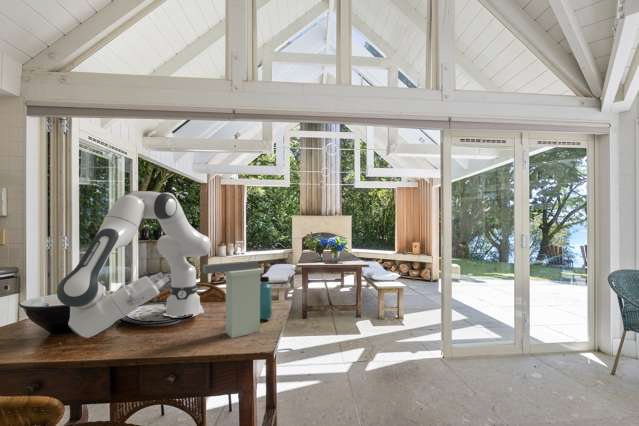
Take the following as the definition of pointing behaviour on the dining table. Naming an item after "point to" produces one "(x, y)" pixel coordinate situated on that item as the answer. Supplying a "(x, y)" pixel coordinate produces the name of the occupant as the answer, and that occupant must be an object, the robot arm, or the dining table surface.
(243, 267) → the graphite bar
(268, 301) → the beverage bottle
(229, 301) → the sage stand
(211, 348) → the dining table surface
